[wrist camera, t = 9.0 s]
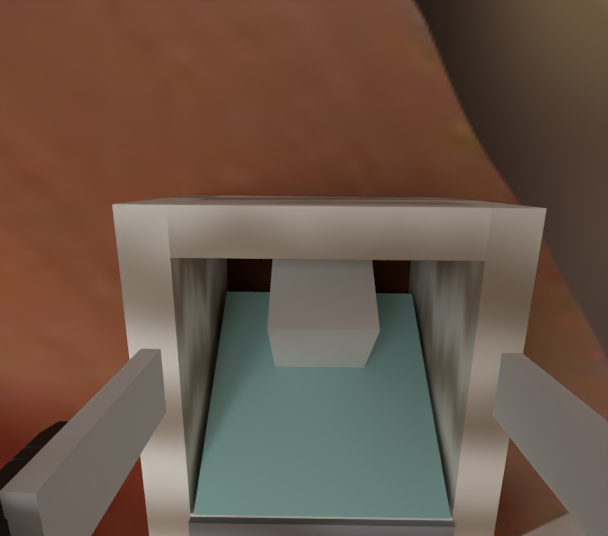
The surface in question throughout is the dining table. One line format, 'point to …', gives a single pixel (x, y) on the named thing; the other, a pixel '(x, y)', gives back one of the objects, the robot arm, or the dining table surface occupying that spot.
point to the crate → (344, 246)
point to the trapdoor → (320, 426)
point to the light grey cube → (322, 312)
